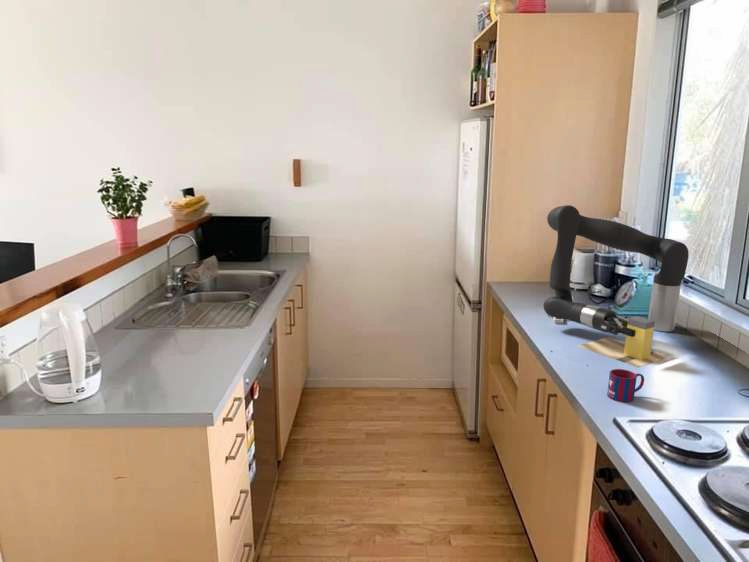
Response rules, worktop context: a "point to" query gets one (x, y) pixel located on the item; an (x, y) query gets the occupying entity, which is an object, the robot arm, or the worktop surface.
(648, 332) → the yellow spice tin
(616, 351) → the plywood panel
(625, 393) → the mug
